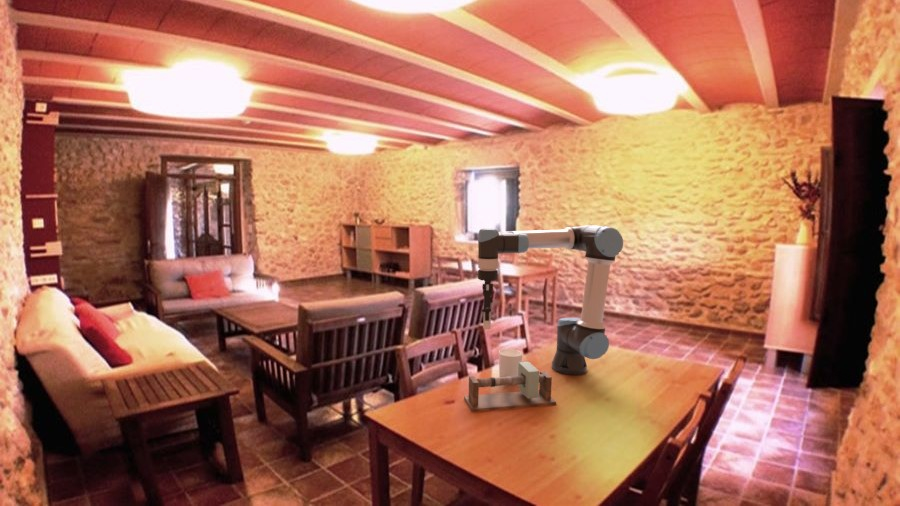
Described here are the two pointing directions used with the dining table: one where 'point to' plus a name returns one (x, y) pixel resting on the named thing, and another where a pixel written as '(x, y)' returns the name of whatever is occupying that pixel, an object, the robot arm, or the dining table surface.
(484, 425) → the dining table surface
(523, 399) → the dowel stand
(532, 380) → the collar
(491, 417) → the dining table surface
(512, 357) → the candle holder
